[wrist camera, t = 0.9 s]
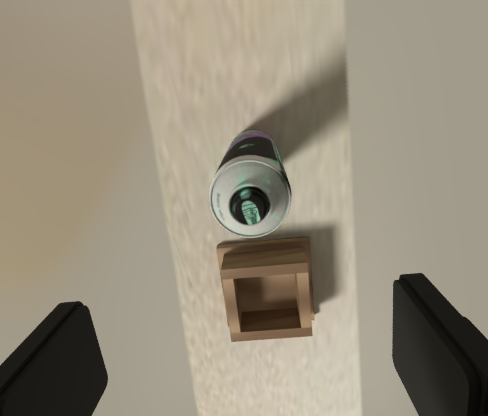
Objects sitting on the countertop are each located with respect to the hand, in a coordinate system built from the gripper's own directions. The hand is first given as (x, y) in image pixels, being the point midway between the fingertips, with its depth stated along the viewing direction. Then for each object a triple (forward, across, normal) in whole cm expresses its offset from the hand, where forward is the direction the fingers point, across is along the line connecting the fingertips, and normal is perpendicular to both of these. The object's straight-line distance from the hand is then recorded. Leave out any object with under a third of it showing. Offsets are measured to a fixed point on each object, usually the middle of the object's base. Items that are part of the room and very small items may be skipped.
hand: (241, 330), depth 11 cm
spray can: (+31, 0, 0) cm, 31 cm away
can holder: (+31, 0, +16) cm, 34 cm away
